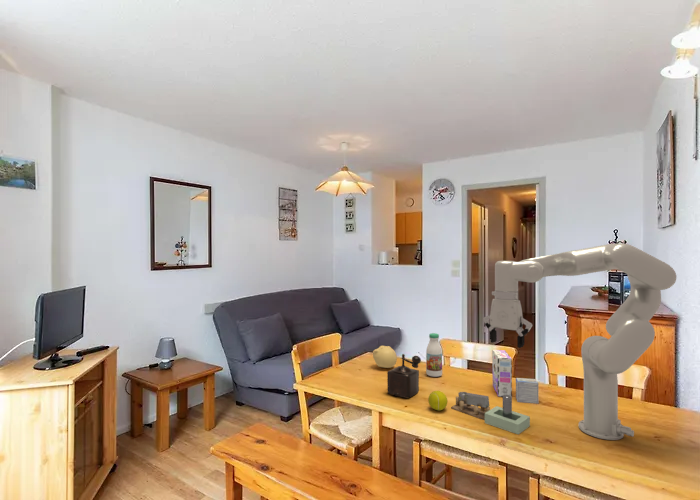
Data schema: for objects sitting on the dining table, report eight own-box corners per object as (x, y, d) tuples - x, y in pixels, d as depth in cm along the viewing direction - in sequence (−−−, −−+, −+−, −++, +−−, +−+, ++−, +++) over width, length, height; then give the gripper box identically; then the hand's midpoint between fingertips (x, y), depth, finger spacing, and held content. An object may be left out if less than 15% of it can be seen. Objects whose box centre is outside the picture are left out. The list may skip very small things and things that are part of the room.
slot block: (529, 426, 132) (529, 416, 132) (518, 435, 126) (518, 424, 126) (496, 415, 141) (496, 406, 141) (484, 423, 135) (484, 413, 135)
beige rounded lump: (385, 361, 209) (385, 342, 209) (401, 367, 199) (401, 346, 199) (369, 365, 202) (369, 345, 202) (385, 371, 192) (385, 350, 192)
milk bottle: (423, 372, 190) (423, 332, 190) (437, 371, 192) (436, 331, 192) (431, 377, 182) (431, 336, 182) (445, 376, 185) (445, 335, 185)
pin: (513, 424, 133) (513, 396, 133) (509, 427, 131) (509, 398, 131) (505, 422, 135) (505, 394, 135) (501, 424, 133) (501, 396, 133)
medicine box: (536, 400, 155) (536, 379, 155) (538, 404, 151) (538, 382, 151) (515, 398, 157) (515, 377, 157) (517, 402, 153) (517, 381, 153)
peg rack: (494, 414, 142) (494, 404, 142) (484, 420, 137) (484, 410, 137) (460, 403, 152) (460, 394, 152) (451, 408, 147) (451, 399, 147)
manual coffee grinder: (385, 393, 163) (385, 351, 163) (398, 386, 172) (398, 346, 171) (418, 402, 153) (418, 357, 153) (430, 393, 162) (430, 351, 162)
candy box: (512, 397, 157) (512, 358, 157) (497, 396, 159) (497, 357, 158) (505, 386, 171) (505, 349, 171) (492, 385, 172) (491, 349, 172)
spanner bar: (490, 405, 141) (489, 395, 141) (485, 408, 138) (484, 398, 139) (462, 400, 149) (461, 391, 150) (457, 402, 147) (456, 393, 147)
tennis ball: (438, 415, 142) (438, 396, 142) (424, 408, 147) (424, 390, 147) (451, 410, 146) (450, 392, 146) (436, 404, 151) (436, 386, 151)
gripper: (478, 294, 137) (478, 341, 137) (526, 299, 124) (527, 351, 124) (488, 292, 142) (488, 338, 142) (536, 297, 129) (536, 347, 129)
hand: (506, 344), depth 133 cm, fingers open, 9 cm apart
